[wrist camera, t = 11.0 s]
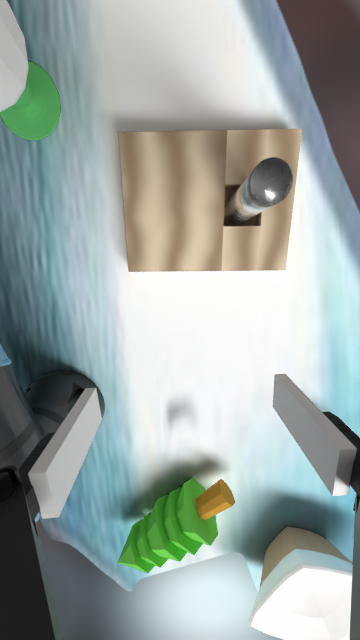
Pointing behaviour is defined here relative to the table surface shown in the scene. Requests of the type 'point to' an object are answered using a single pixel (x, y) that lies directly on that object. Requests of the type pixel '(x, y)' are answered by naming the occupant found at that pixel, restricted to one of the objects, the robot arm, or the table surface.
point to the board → (202, 199)
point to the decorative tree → (176, 525)
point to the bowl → (304, 589)
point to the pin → (260, 190)
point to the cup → (24, 85)
